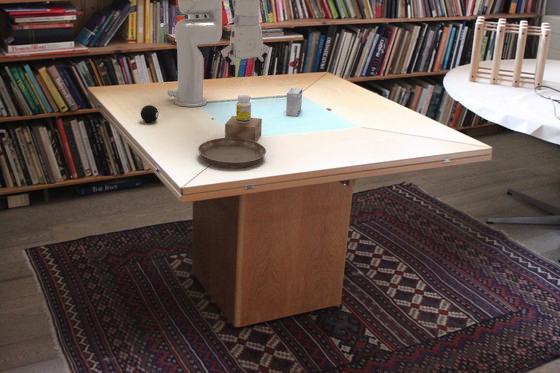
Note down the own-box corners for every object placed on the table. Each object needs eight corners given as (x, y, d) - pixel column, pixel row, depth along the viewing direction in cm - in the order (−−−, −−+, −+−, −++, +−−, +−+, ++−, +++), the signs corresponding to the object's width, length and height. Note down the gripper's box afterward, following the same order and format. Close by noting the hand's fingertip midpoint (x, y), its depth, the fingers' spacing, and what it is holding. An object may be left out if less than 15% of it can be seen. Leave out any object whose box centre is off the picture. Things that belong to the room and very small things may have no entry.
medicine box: (297, 116, 262) (298, 93, 258) (285, 115, 262) (286, 92, 259) (301, 111, 269) (302, 88, 266) (289, 109, 270) (290, 87, 266)
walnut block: (224, 141, 232) (225, 124, 229) (232, 132, 241) (232, 115, 238) (254, 145, 230) (255, 127, 228) (261, 135, 239) (261, 118, 237)
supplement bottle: (235, 119, 235) (236, 94, 232) (250, 119, 236) (251, 94, 232) (236, 123, 231) (236, 98, 228) (250, 123, 231) (251, 98, 228)
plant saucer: (271, 170, 211) (272, 159, 210) (202, 172, 207) (202, 161, 205) (259, 147, 230) (259, 137, 228) (194, 148, 225) (194, 138, 224)
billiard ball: (153, 125, 244) (153, 108, 241) (137, 123, 245) (137, 106, 243) (161, 121, 249) (161, 104, 247) (145, 118, 251) (145, 102, 248)
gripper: (228, 24, 213) (227, 80, 220) (276, 21, 223) (273, 74, 229) (216, 20, 219) (215, 74, 226) (263, 17, 228) (261, 69, 235)
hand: (244, 74), depth 227 cm, fingers open, 9 cm apart
